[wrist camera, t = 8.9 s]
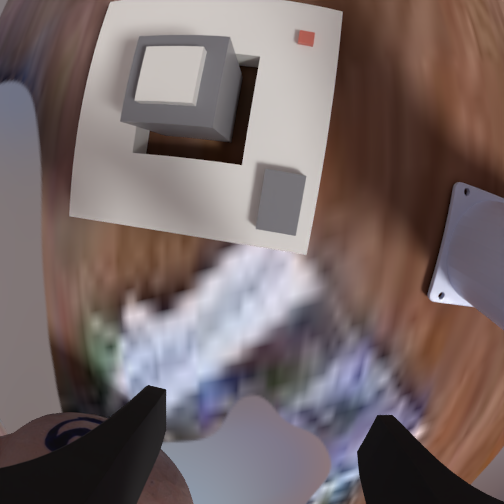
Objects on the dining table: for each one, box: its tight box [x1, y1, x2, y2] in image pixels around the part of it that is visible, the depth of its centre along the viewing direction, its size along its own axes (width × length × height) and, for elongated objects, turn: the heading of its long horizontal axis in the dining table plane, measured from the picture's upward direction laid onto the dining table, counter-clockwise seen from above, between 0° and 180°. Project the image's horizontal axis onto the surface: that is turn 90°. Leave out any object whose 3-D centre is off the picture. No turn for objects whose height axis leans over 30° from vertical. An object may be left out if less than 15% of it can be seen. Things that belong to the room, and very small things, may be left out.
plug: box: [120, 35, 243, 143], centre depth 13 cm, size 4×4×7 cm
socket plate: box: [69, 0, 343, 255], centre depth 15 cm, size 14×14×3 cm
